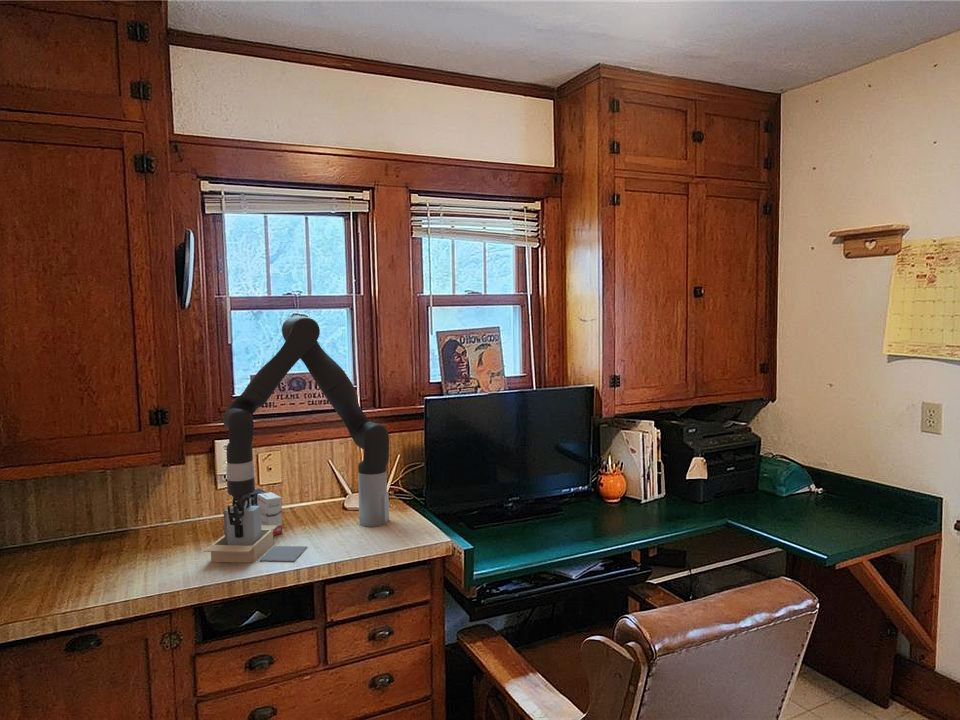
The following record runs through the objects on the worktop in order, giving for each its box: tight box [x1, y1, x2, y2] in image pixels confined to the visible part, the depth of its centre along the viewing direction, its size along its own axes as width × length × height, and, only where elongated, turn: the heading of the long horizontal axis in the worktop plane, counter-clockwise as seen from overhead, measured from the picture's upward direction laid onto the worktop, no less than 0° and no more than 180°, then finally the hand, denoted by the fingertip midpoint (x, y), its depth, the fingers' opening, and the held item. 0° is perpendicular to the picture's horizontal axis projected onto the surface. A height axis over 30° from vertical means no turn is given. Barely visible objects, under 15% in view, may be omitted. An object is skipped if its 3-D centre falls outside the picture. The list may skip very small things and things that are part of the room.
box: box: [223, 506, 262, 546], centre depth 191 cm, size 9×5×12 cm, turn 86°
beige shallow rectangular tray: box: [203, 525, 278, 563], centre depth 192 cm, size 13×22×4 cm, turn 176°
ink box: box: [257, 492, 283, 536], centre depth 209 cm, size 8×5×12 cm, turn 39°
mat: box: [259, 545, 308, 563], centre depth 190 cm, size 10×11×1 cm
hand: (243, 533), depth 191 cm, fingers closed on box, 5 cm apart
